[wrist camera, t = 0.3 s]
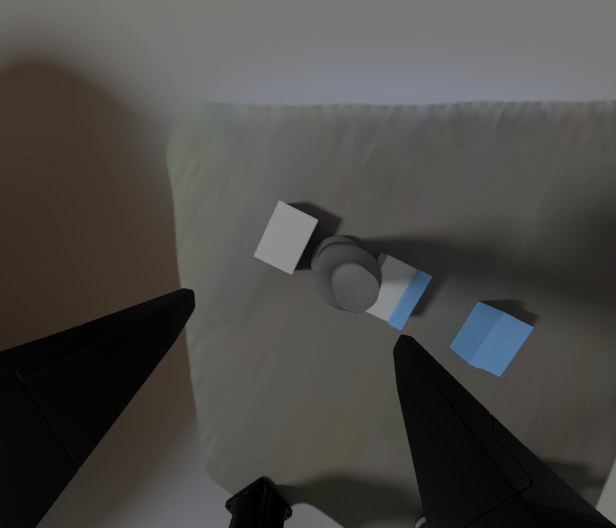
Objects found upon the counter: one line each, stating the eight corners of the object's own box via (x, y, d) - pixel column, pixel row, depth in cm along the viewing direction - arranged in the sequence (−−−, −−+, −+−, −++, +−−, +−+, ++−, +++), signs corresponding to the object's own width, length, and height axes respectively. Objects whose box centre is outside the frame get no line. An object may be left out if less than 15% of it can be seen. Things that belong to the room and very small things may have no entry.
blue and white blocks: (260, 253, 24) (251, 257, 21) (283, 203, 23) (277, 199, 20) (481, 362, 25) (506, 382, 22) (511, 317, 24) (542, 331, 21)
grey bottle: (332, 296, 25) (347, 359, 12) (300, 258, 24) (283, 283, 12) (372, 265, 24) (431, 299, 12) (340, 225, 24) (366, 216, 11)
